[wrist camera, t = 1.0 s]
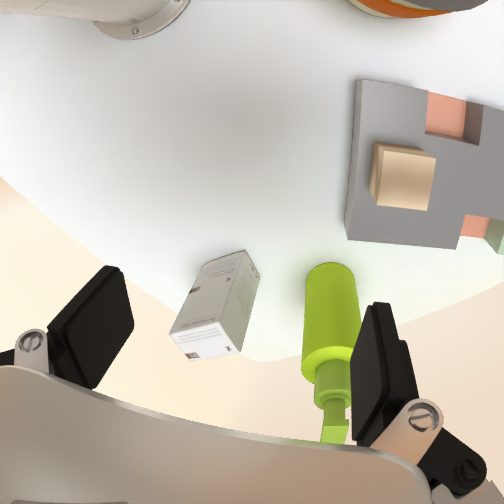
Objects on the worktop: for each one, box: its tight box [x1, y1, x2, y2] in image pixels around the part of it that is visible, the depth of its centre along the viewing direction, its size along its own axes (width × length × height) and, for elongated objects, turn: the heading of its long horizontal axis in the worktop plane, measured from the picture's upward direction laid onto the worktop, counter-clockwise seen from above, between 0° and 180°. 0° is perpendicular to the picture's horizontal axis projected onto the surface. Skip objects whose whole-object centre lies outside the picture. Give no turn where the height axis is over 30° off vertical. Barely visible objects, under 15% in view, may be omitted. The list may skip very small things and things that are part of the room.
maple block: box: [369, 141, 436, 211], centre depth 24 cm, size 4×4×4 cm
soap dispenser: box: [301, 263, 362, 444], centre depth 29 cm, size 6×7×20 cm
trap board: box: [344, 79, 504, 255], centre depth 26 cm, size 15×24×4 cm, turn 91°
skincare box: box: [169, 251, 260, 361], centre depth 34 cm, size 6×4×12 cm
